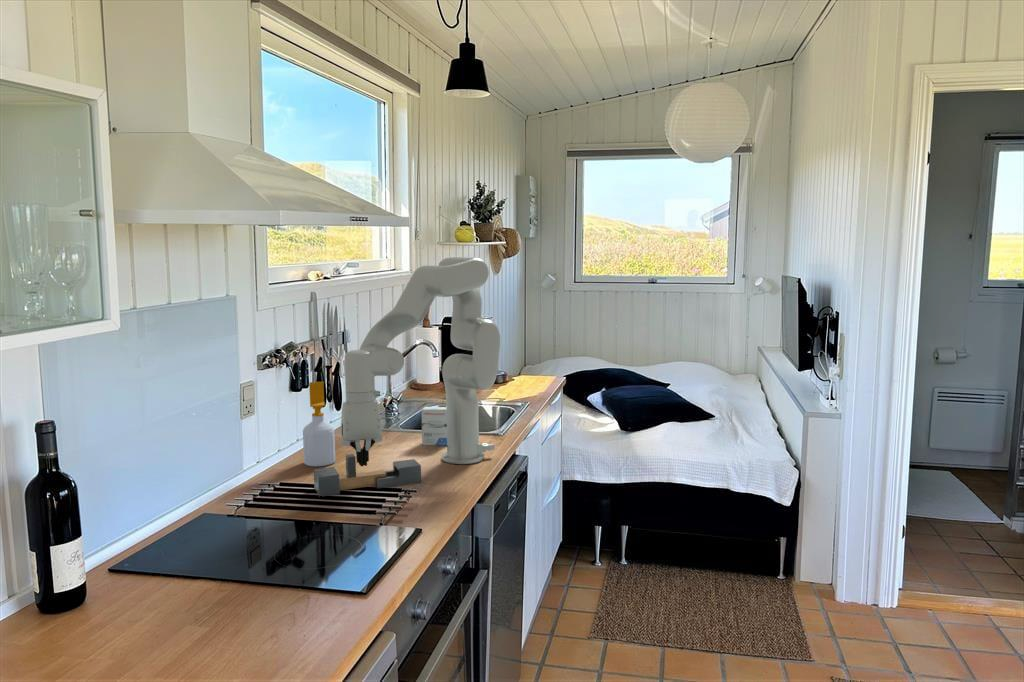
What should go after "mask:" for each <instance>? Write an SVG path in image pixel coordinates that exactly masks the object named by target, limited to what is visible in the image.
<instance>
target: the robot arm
mask: <svg viewBox="0 0 1024 682" xmlns="http://www.w3.org/2000/svg"><path fill="white" fill-rule="evenodd" d="M489 273H490V269H489V267H488V264H487V263H486V262H485V261H484V260H483V259H481V258H478V257H466V256H465V257H462V256H450V257H446V258H443V259H442V260H440V261H439V263H438V265H423V266H420V267H417V268H416V269H415V270H414V271H413V273H412V275H411V276H410V278H409V280H408V282H407V284H406V285H405V288H404V289H403V292H402V293H401V295H400V297H399V298H398V300H397V302H396V304H395V306H394V307H393V308H392V309H391V310H390V311H388V312H387V314H385V315H384V316H383V317H382V318H380V320H379V321H377V322H376V323H375V324H374V325H373V326H372V327H371V329H370V330H369V331H368V332H367V334H366V336H365V338H364V340H363V341H362V343H361V345H360V347H359V349H354V350H353V349H352V350H349V351H347V352H346V353H345V354H344V376H345V377H344V380H345V382H344V383H345V401H343V402H342V407H341V418H340V419H341V420H340V433H341V437H342V438H341V444H342V446H347V447H352V448H353V449H354V450H355V453H356V454H355V460H356V463H358V465H359V466H360V467H364V466H365V467H366V466H368V462H369V461H370V457H369V456H370V455H369V454H370V450H371V448H372V447H373V446H374V445H375V444H377V443H380V442H382V441H383V436H382V433H383V432H382V431H383V429H382V418H381V410H380V406H379V403H378V400H377V398H378V397H381V391H380V390H376V388H375V387H376V386H375V385H376V384H375V383H376V382H375V381H376V380H375V378H376V377H379V376H380V377H381V376H384V377H391V376H395V375H397V374H398V373H400V372H401V371H402V370H403V369H404V365H405V357H404V355H403V353H402V352H401V351H399V350H398V349H396V348H393V347H388V346H389V345H390V344H391V343H392V341H393V340H394V339H395V338H397V337H398V336H399V335H402V334H403V333H405V332H408V331H410V330H413V329H414V328H416V327H418V326H419V325H421V324H422V323H423V321H424V319H425V317H426V316H427V313H428V311H429V309H430V307H431V305H432V303H433V302H434V300H435V298H436V297H440V298H450V297H452V315H451V326H450V342H451V344H452V345H453V346H454V347H455V348H457V349H461V350H464V351H465V350H466V351H471V352H472V354H466V353H465V354H464V353H454V354H451V355H450V356H448V357H447V358H446V359H445V360H444V362H443V364H442V369H441V375H442V378H443V379H442V380H443V383H444V389H445V400H446V401H445V402H446V405H445V407H446V413H447V445H446V449H447V450H446V451H445V452H444V453H442V455H441V459H442V461H444V462H445V463H448V464H453V465H454V464H455V465H470V464H476V463H479V462H482V461H483V460H484V459H485V451H489V452H490V451H494V450H495V444H494V443H489V444H488V443H486V442H485V443H484V442H483V443H481V442H480V437H479V435H480V432H479V421H480V420H479V397H478V392H477V390H478V391H486V390H488V389H491V387H492V386H494V384H495V381H496V379H497V376H498V375H497V374H498V370H499V361H500V360H499V359H500V349H501V334H500V333H501V332H500V330H499V327H498V326H497V324H496V323H494V321H492V320H489V319H487V318H486V319H485V318H482V309H483V308H482V306H483V305H482V304H483V303H482V295H481V293H480V291H479V289H478V288H481V287H482V286H484V285H485V283H486V282H487V281H488V278H489ZM360 441H363V447H362V445H361V442H360Z"/></svg>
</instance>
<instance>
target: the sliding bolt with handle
mask: <svg viewBox="0 0 1024 682" xmlns="http://www.w3.org/2000/svg"><path fill="white" fill-rule="evenodd" d="M356 463H357V459H356V455H355V454H354V453H350V454H345V468H346V470H345V472H346V474H341V475H340V474H339V483H340V491H344V490H345V491H346V490H353V489H361V488H367V487H375V486H376V478H383V477H386V473H385V472H384V471H385V470H384V469H381V470H373V471H365V472H358V473H357V467H356V465H357V464H356ZM376 487H377V486H376Z"/></svg>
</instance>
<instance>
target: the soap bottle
mask: <svg viewBox="0 0 1024 682" xmlns="http://www.w3.org/2000/svg"><path fill="white" fill-rule="evenodd" d="M324 383H325V381H312V382H310V381H309V383H308V384H309V405H310V408H312V409H313V410H314V412H312V414H311V422H309V423H308V424H307V425H306V426H304V427H303V429H302V443H303V447H302V448H303V463H304V465H306V466H309V467H314V468H315V467H316V468H317V467H319V468H320V467H326V466H330V465H332V464H334V463H335V462H336V444H335V443H336V441H335V440H336V439H335V429H334V426H333V425H332V424H331V423H330V422H327V421H326V420H325V419H324V418H325V417H324V412H321V409H323V407H326V405H325V404H326V403H325V388H324Z"/></svg>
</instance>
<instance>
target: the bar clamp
mask: <svg viewBox="0 0 1024 682" xmlns="http://www.w3.org/2000/svg"><path fill="white" fill-rule="evenodd" d="M384 472H385V473H386V477H383V478H376V488H377V489H383V488H391V487H397V486H405V485H413V484H421V483H422V465H421V464H420V463H419V462H418V461H417V460H416V459H414V458H413V459H404V460H403V459H402V460H397V461H393V462H392V470H391V469H390V470H384ZM339 476H340V473H339V472H338V471H337V469H336V468H335V467H334V466H333V467H323V468H315V469H313V485H314V490H315V492H316V491H317V492H316V493H318V494H317V495H319V496H318V497H319V498H321V497H320V496H322V497H327V495H329V496H335V495H334V494H337V495H340V494H341V490H340V483H339Z"/></svg>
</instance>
